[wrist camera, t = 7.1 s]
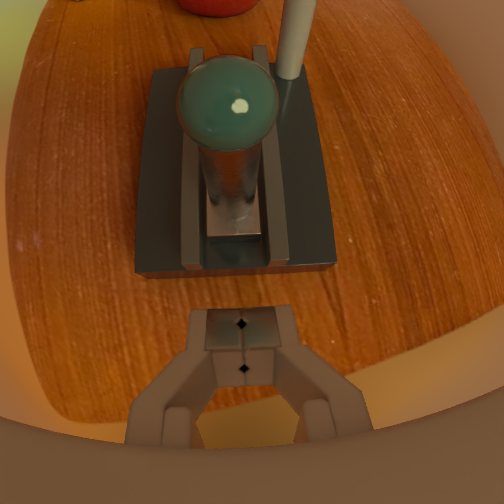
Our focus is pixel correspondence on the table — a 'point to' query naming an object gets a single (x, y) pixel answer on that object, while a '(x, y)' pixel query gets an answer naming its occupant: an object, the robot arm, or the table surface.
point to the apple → (217, 7)
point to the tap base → (269, 178)
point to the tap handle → (229, 139)
